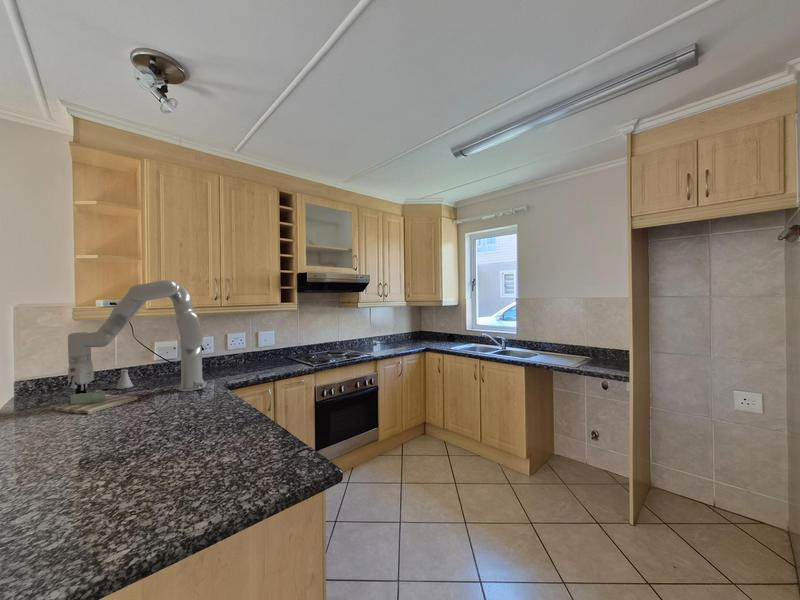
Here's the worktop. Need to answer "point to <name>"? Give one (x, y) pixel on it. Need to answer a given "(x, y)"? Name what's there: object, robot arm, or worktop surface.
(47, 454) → the worktop surface
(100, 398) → the lock lever
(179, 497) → the worktop surface
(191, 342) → the robot arm
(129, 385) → the flask
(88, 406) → the lock base
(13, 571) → the worktop surface
